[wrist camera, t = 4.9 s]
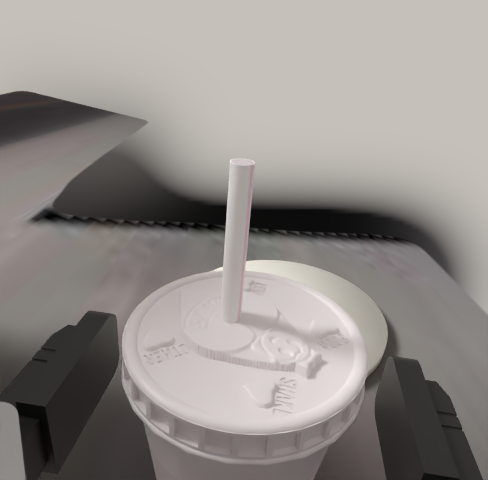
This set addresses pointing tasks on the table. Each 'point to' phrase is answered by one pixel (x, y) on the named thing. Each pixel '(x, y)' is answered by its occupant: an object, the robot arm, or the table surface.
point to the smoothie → (242, 366)
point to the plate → (336, 300)
